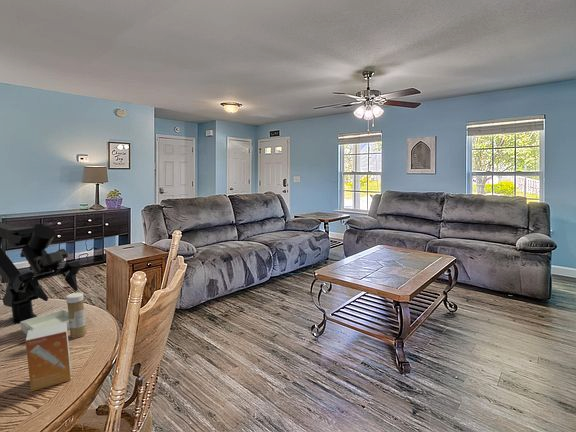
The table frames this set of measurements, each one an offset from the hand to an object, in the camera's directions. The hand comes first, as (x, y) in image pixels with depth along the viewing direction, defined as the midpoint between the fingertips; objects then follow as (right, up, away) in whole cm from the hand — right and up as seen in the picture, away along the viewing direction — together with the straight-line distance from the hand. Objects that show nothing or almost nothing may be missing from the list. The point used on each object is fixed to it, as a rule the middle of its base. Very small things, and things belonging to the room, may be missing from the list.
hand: (62, 295), depth 107 cm
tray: (-6, -12, +4) cm, 14 cm away
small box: (+14, -16, -24) cm, 32 cm away
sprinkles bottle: (+6, -13, -1) cm, 14 cm away
